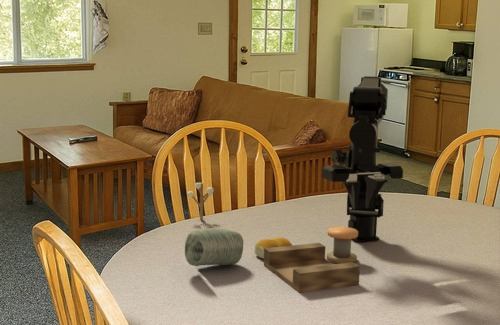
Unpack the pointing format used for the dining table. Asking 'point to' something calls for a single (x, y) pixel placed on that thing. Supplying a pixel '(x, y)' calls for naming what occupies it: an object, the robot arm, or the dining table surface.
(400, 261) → the dining table surface
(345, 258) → the orange capped knob
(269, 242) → the bread roll
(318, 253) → the notch board
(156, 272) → the dining table surface
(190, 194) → the cotton branch
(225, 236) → the spool
